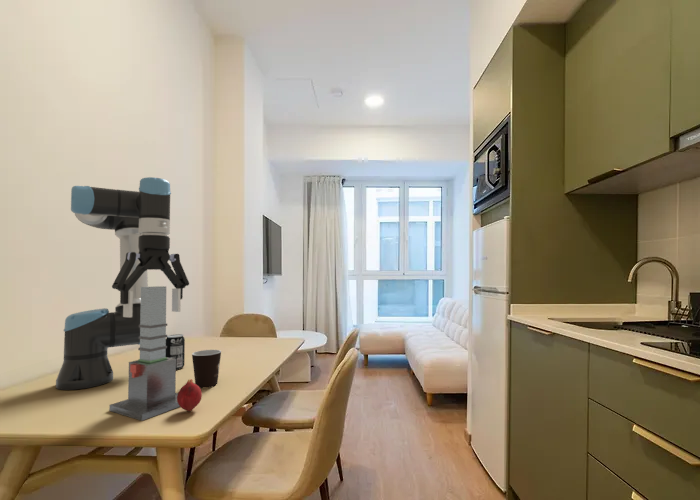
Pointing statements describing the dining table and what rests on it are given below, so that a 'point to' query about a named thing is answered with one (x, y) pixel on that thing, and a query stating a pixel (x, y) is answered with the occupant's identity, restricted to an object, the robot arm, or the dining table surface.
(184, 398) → the onion
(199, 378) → the coffee mug
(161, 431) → the dining table surface
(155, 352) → the column
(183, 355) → the beverage can
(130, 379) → the stand
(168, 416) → the dining table surface
